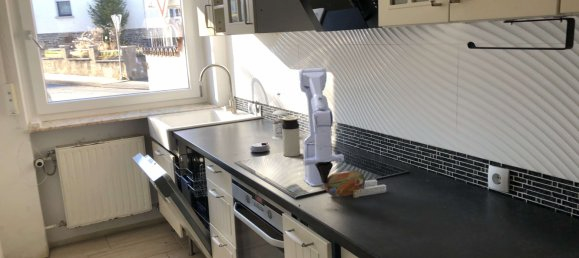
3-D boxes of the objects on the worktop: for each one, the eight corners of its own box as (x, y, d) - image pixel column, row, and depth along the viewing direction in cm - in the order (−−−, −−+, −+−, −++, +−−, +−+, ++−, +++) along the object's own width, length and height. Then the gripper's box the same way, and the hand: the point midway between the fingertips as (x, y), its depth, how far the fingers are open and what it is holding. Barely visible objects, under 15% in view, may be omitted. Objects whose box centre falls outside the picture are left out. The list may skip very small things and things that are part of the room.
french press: (269, 136, 272) (266, 92, 267) (287, 134, 277) (285, 91, 272) (275, 140, 264) (273, 94, 259) (295, 137, 268) (293, 92, 263)
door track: (342, 189, 177) (342, 183, 177) (374, 185, 181) (374, 178, 181) (354, 197, 168) (354, 191, 168) (387, 192, 172) (387, 186, 172)
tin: (328, 199, 168) (327, 176, 166) (324, 196, 171) (323, 173, 169) (365, 192, 174) (365, 169, 172) (360, 189, 177) (360, 167, 175)
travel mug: (285, 157, 226) (284, 119, 222) (281, 153, 233) (279, 117, 230) (302, 155, 228) (300, 118, 224) (297, 152, 235) (296, 115, 232)
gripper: (307, 149, 160) (308, 188, 163) (347, 145, 165) (348, 183, 167) (300, 145, 167) (301, 183, 170) (338, 140, 171) (339, 177, 174)
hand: (324, 182), depth 169 cm, fingers closed
